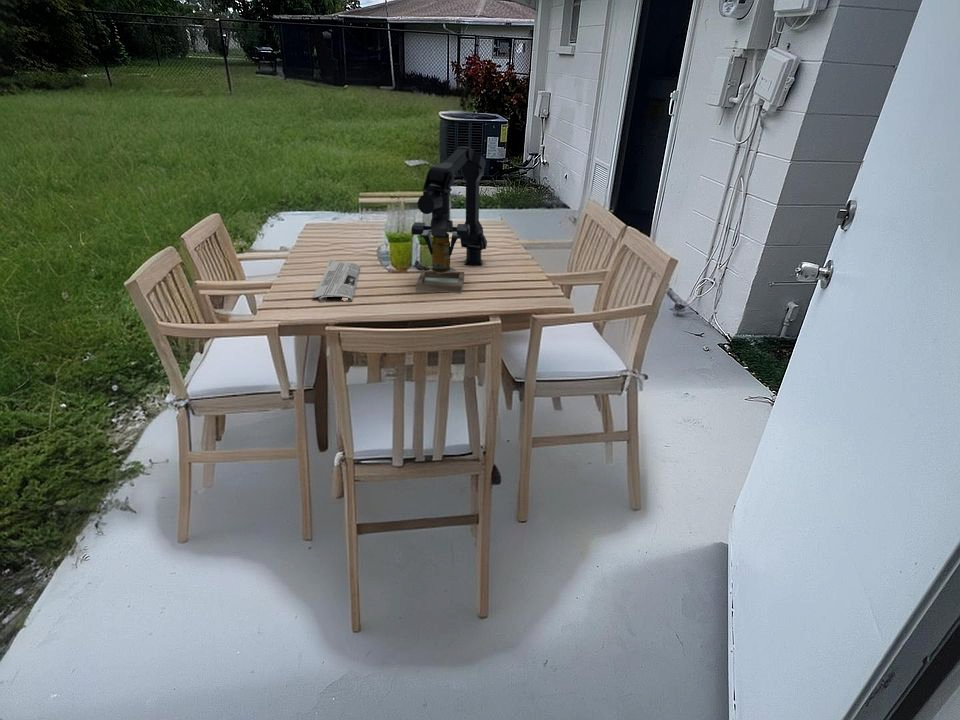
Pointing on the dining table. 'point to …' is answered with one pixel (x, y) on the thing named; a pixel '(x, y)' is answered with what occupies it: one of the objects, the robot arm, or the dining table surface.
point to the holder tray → (440, 282)
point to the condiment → (441, 255)
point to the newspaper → (338, 280)
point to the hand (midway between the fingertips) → (441, 254)
